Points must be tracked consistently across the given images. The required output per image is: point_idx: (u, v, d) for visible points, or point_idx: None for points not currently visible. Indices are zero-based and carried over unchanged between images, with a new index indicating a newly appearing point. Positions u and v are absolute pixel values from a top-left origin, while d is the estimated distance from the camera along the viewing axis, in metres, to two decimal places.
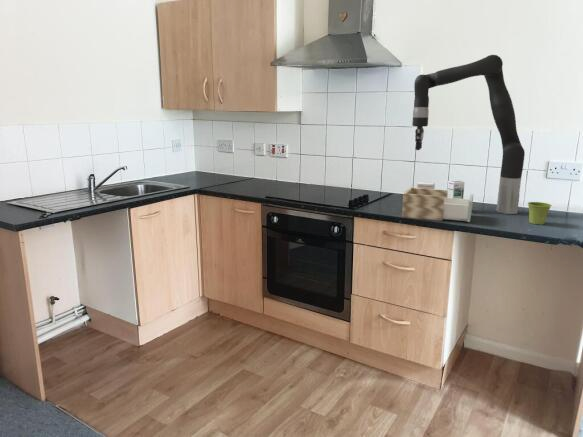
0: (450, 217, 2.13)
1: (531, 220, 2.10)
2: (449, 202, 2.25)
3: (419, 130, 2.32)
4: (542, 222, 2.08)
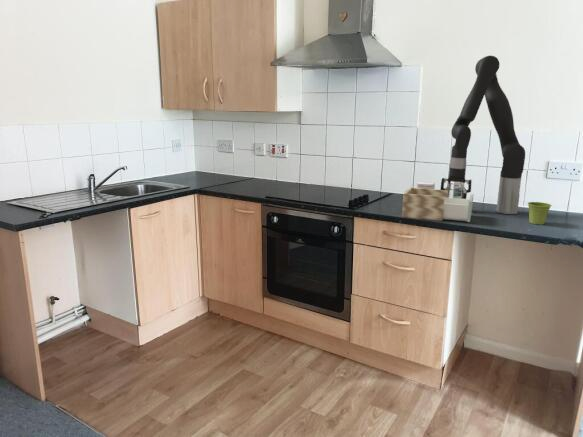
0: (450, 217, 2.13)
1: (531, 220, 2.10)
2: (449, 202, 2.25)
3: (471, 181, 2.30)
4: (542, 222, 2.08)
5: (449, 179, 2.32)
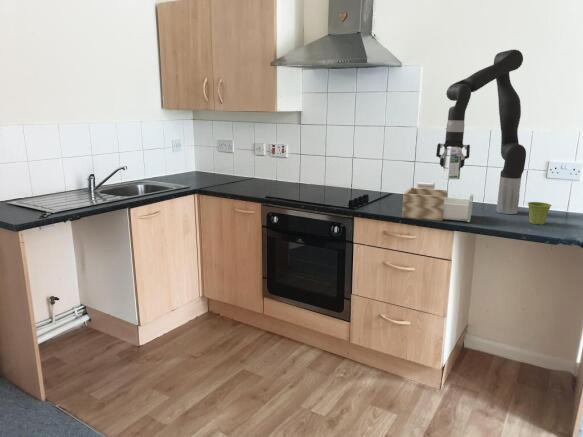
0: (450, 217, 2.13)
1: (531, 220, 2.10)
2: (449, 202, 2.25)
3: (469, 146, 2.11)
4: (542, 222, 2.08)
5: (446, 144, 2.13)
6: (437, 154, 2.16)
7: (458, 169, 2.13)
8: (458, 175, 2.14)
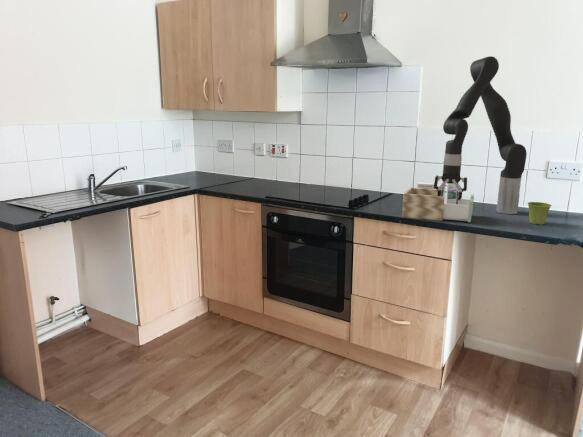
0: (451, 217, 2.13)
1: (531, 220, 2.10)
2: None
3: (466, 178, 2.14)
4: (542, 222, 2.08)
5: (443, 177, 2.16)
6: (435, 186, 2.19)
7: None
8: None
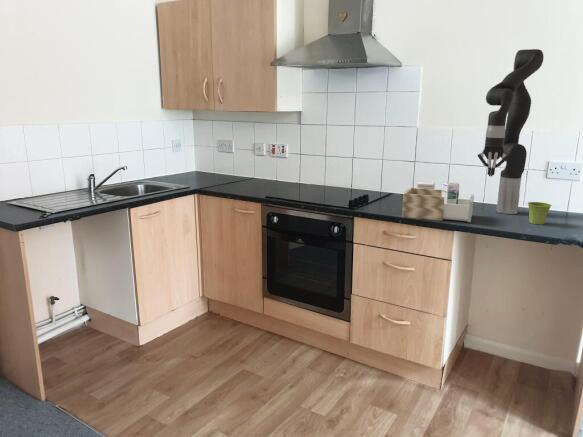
0: (451, 217, 2.13)
1: (531, 220, 2.10)
2: None
3: (507, 157, 2.06)
4: (542, 222, 2.08)
5: (484, 151, 2.07)
6: (485, 163, 2.08)
7: None
8: None
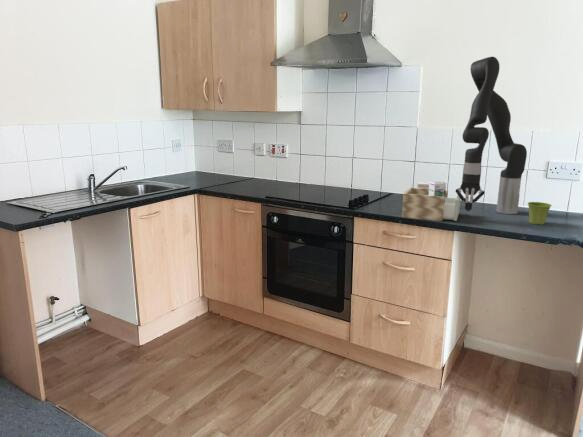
0: None
1: (531, 220, 2.10)
2: None
3: None
4: (542, 222, 2.08)
5: (462, 186, 2.14)
6: (462, 198, 2.15)
7: None
8: None
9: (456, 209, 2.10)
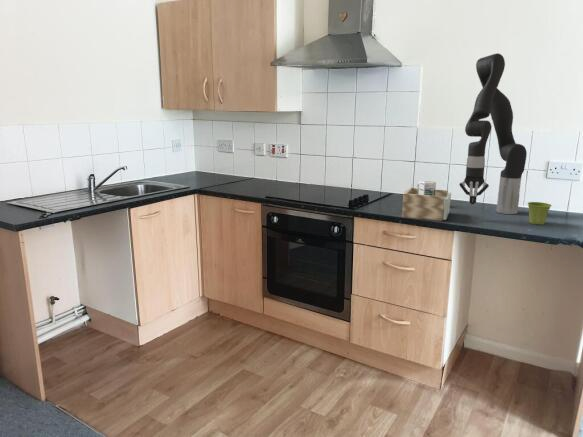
0: None
1: (531, 220, 2.10)
2: None
3: None
4: (542, 222, 2.08)
5: (466, 180, 2.14)
6: (467, 192, 2.15)
7: None
8: None
9: (445, 208, 2.11)
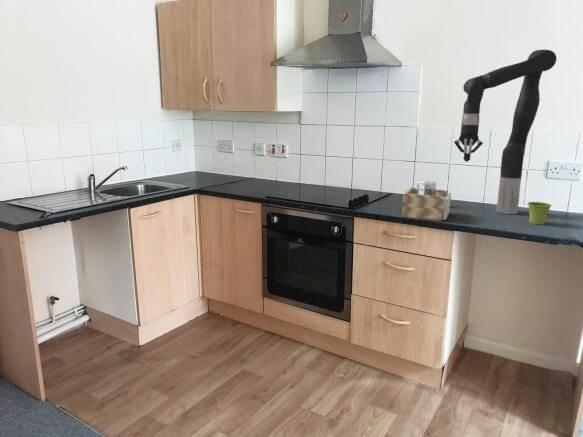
0: None
1: (531, 220, 2.10)
2: None
3: (482, 143, 2.19)
4: (542, 222, 2.08)
5: (460, 137, 2.20)
6: (461, 149, 2.21)
7: None
8: None
9: (445, 208, 2.11)
